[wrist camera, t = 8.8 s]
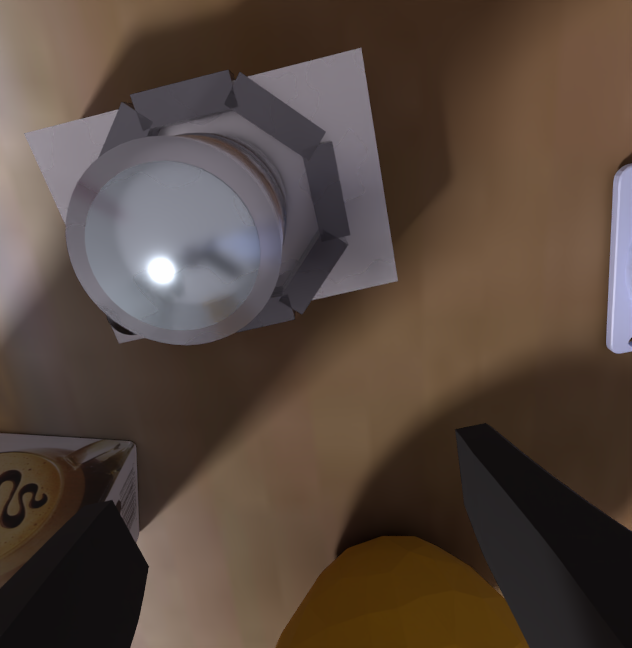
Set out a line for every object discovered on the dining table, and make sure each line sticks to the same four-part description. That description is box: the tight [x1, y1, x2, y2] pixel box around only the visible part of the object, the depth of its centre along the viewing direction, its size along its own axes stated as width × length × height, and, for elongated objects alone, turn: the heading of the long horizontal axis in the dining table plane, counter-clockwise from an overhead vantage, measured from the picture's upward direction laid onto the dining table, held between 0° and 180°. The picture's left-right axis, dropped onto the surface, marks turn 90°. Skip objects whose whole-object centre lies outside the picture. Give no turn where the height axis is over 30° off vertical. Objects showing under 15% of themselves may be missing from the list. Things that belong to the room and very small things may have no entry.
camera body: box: [24, 48, 398, 344], centre depth 15 cm, size 10×7×4 cm
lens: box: [66, 133, 287, 345], centre depth 11 cm, size 4×4×6 cm
